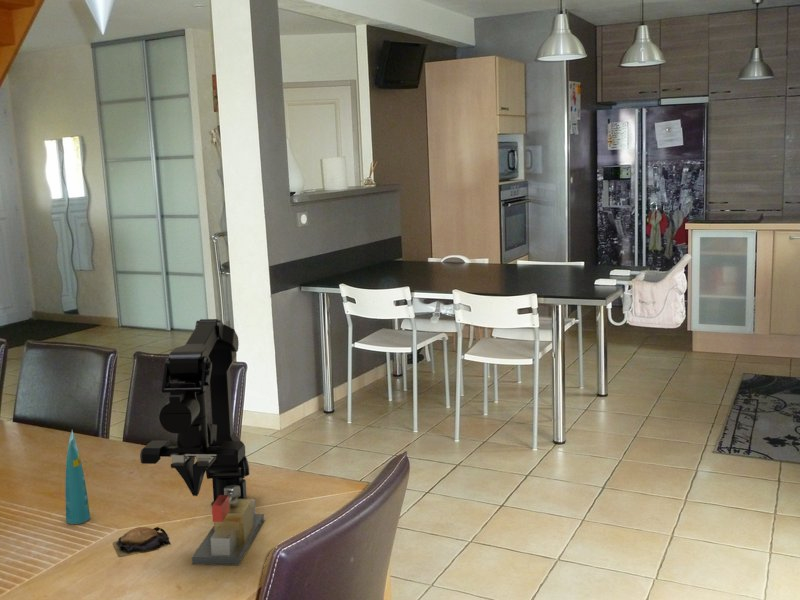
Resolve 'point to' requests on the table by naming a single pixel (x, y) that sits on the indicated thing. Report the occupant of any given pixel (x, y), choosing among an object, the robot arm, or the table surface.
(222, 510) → the valve lever
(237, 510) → the valve stand
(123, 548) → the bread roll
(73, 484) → the tube
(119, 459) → the table surface
